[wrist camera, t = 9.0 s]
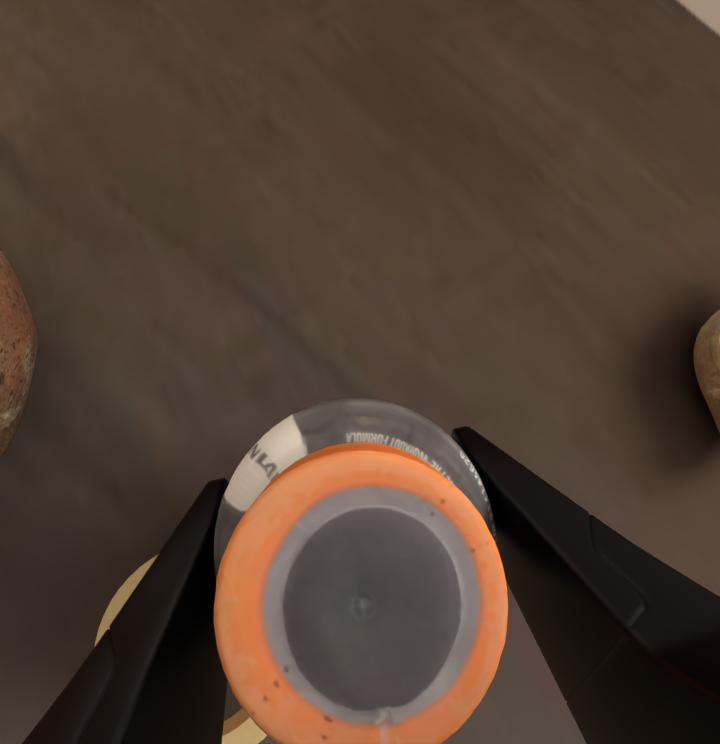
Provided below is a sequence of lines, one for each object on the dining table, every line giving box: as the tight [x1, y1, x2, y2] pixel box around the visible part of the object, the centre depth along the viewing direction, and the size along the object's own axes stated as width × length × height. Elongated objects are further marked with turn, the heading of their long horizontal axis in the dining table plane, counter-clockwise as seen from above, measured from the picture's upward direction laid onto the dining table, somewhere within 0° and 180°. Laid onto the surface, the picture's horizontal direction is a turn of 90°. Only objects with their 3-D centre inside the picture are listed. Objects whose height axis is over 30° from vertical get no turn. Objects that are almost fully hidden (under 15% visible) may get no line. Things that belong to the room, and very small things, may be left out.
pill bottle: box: [214, 398, 508, 744], centre depth 10 cm, size 6×6×11 cm
